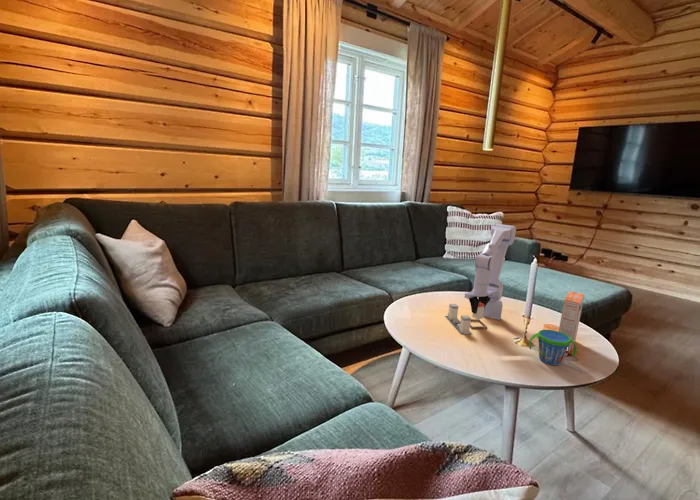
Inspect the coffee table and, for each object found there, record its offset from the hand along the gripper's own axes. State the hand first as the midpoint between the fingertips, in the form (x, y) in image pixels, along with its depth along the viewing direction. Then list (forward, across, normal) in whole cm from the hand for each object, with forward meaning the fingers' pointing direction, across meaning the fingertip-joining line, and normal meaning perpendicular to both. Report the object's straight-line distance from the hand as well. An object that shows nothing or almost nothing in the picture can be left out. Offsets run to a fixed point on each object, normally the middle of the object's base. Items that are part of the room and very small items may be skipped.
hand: (477, 312), depth 164 cm
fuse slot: (+6, +10, +4) cm, 12 cm away
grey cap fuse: (+6, +6, -8) cm, 12 cm away
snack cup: (+7, -7, +32) cm, 33 cm away
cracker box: (+7, -25, +24) cm, 36 cm away
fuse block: (+7, +8, -2) cm, 11 cm away
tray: (+7, 0, 0) cm, 7 cm away
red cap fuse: (+2, 0, +1) cm, 2 cm away
